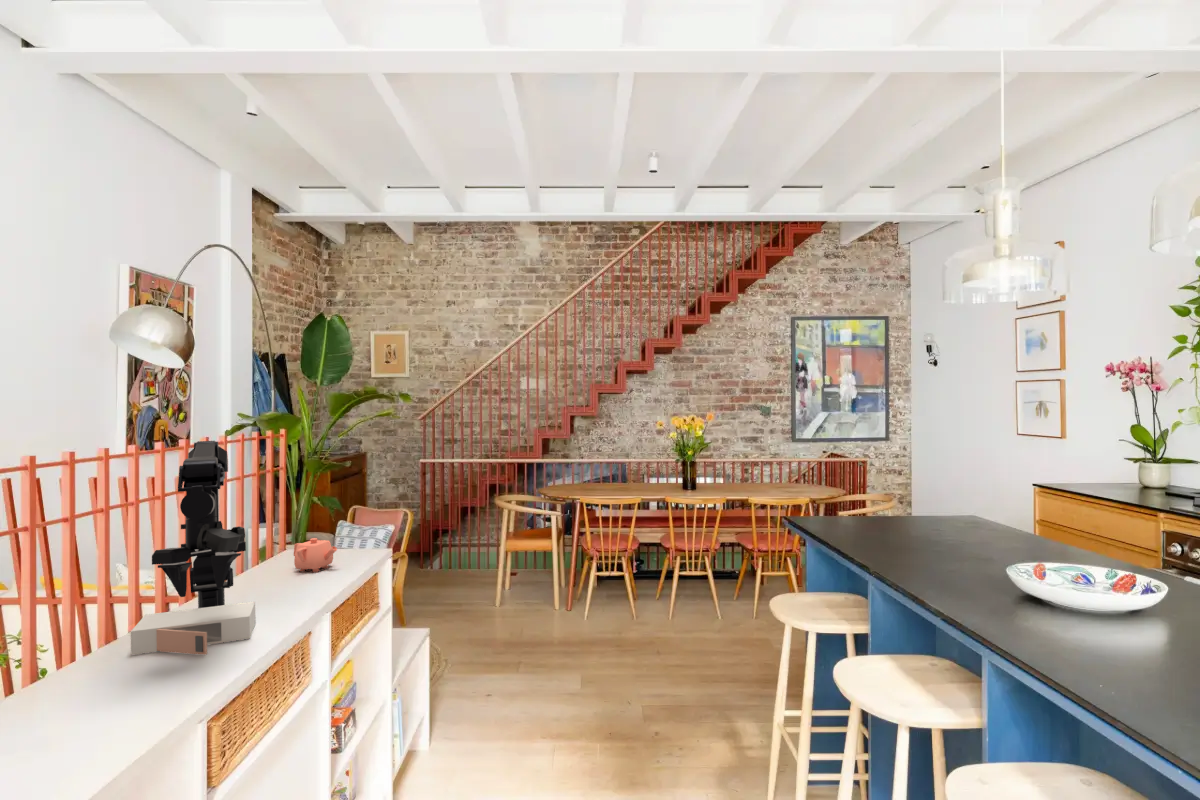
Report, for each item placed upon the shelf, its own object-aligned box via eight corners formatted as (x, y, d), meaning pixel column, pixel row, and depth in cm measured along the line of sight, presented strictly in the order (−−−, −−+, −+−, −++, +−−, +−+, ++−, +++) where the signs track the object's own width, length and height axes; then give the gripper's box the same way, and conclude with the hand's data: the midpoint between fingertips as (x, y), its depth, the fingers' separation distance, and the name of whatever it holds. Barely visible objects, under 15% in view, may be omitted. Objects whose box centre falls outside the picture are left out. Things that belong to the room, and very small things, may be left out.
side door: (159, 650, 139) (158, 628, 139) (207, 653, 136) (206, 632, 136) (155, 651, 138) (155, 630, 138) (203, 655, 135) (203, 633, 135)
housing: (146, 636, 148) (145, 614, 148) (255, 622, 157) (255, 601, 157) (131, 655, 137) (130, 631, 137) (249, 638, 145) (249, 616, 145)
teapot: (337, 570, 205) (337, 539, 205) (295, 576, 199) (295, 544, 199) (333, 562, 215) (332, 533, 215) (293, 567, 209) (292, 537, 209)
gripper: (193, 520, 130) (194, 601, 128) (265, 512, 148) (266, 583, 146) (149, 523, 133) (149, 602, 131) (225, 514, 151) (226, 584, 149)
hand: (201, 592), depth 139 cm, fingers open, 9 cm apart
